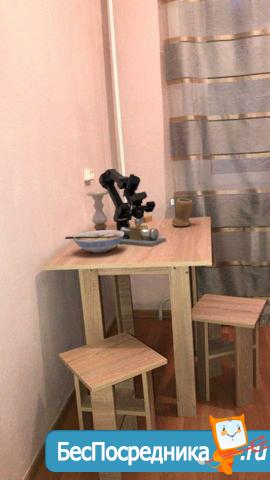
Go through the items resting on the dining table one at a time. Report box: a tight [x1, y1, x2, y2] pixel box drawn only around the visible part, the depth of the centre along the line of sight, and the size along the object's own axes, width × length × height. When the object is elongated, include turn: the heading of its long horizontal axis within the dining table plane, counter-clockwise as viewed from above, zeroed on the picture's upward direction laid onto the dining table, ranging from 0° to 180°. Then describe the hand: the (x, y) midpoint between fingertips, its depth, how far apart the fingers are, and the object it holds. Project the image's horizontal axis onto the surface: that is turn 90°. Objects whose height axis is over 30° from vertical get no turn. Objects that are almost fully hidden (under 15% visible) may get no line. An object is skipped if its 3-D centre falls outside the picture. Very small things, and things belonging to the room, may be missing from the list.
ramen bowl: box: [64, 229, 124, 254], centre depth 188 cm, size 25×23×8 cm
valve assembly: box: [118, 224, 167, 247], centre depth 200 cm, size 22×12×8 cm, turn 55°
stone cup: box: [171, 197, 194, 227], centre depth 236 cm, size 15×12×15 cm
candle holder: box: [86, 190, 109, 231], centre depth 209 cm, size 11×11×24 cm
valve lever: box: [134, 214, 153, 226], centre depth 203 cm, size 12×3×3 cm, turn 144°
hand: (142, 221), depth 205 cm, fingers closed
